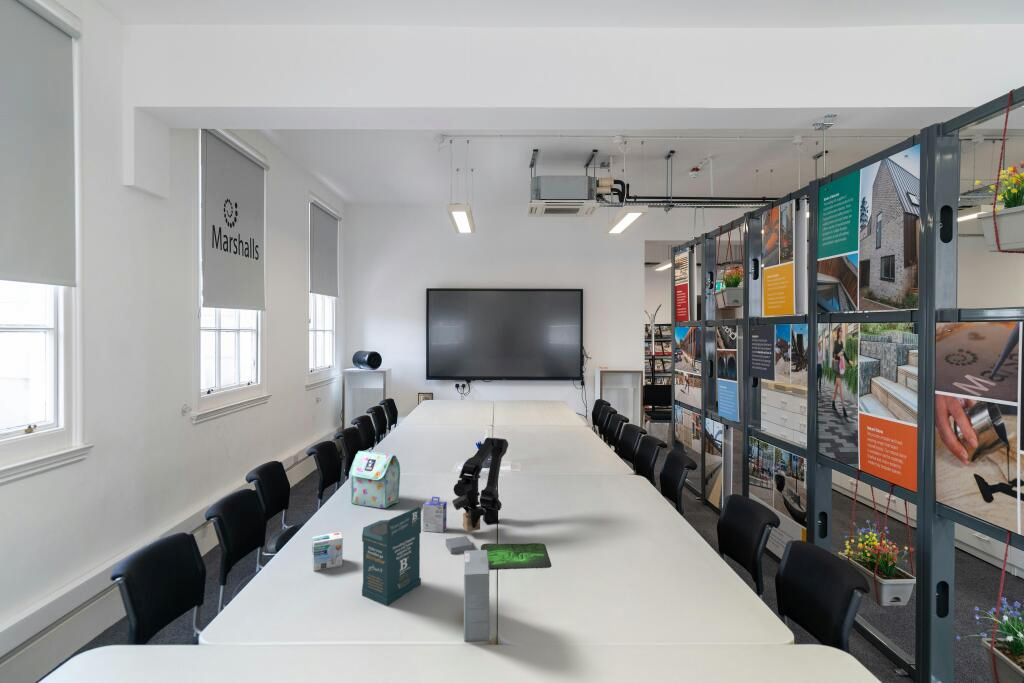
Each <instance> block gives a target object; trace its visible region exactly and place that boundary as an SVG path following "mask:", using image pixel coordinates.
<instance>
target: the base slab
mask: <svg viewBox="0 0 1024 683" xmlns="http://www.w3.org/2000/svg"><path fill="white" fill-rule="evenodd" d="M445 546H446V548H447V549H448V551H449V553H450V555H455V554H460V553H464V551H471V550H474V548H473V543H472V541H471V540H470V539H469V537H468V536H467V535H463V536H456V537H452V538H451V537H450V538H445Z"/></svg>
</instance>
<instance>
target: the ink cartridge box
mask: <svg viewBox="0 0 1024 683" xmlns="http://www.w3.org/2000/svg"><path fill="white" fill-rule="evenodd" d="M436 499H437V500H436ZM440 499H441V498H440V496H432V497H431V500H427V501H425V502H424V503H423V504H422V531H423V532H433V533H444V532H445V531H446V530H447V514H448V512H447V508H448V507H447V506H448V505H447V501H440Z"/></svg>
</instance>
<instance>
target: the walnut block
mask: <svg viewBox="0 0 1024 683" xmlns="http://www.w3.org/2000/svg"><path fill="white" fill-rule="evenodd" d="M468 513H469V512H468ZM468 513H466V512H463V513H462V519H463V521H462V527H463V528H464V529H465V531H466V532H473V531H479V530H481V518H480V519H479V521H478V523H477V525H476V527H475V528H473V527H472V521H471V517H470V516H469V515H468Z"/></svg>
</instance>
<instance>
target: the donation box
mask: <svg viewBox="0 0 1024 683" xmlns="http://www.w3.org/2000/svg"><path fill="white" fill-rule="evenodd" d="M421 534H422V508H421V507H420V506H418V507H416V508H413V509H410V510H409V511H406V512H404V513H402V514H399V515H397V516H395V517H392V518H390V519H385V520H384V519H383V520H378V521H375V522H373V523H371V524H368V525H366V526H364V527H363V528H362V534H361V542H362V551H363V552H362V556H363V557H362V575H363V576H362V586H361V588H362V589H361V596H363V597H364V598H367V599H369V600H372V601H374V602H376V603H378V604H381V605H383V606H385V607H388V606H390V605H391V604H392V603H394V602H395V601H396V602H397V600H399V599H401V598H402V597H404V596H405V595H407V594H409V593H410V592H412V591H414V590H415V589H417V588H418V587H420V586H421V585H422V578H421V577H420V576H421V575H420V574H421V573H420V571H421V569H420V568H421V567H420V565H421V564H420V563H421V560H420V558H421V557H420V555H421V554H420V552H421V549H420V548H421V546H420V545H421V544H420V542H421V540H420V539H421Z"/></svg>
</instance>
